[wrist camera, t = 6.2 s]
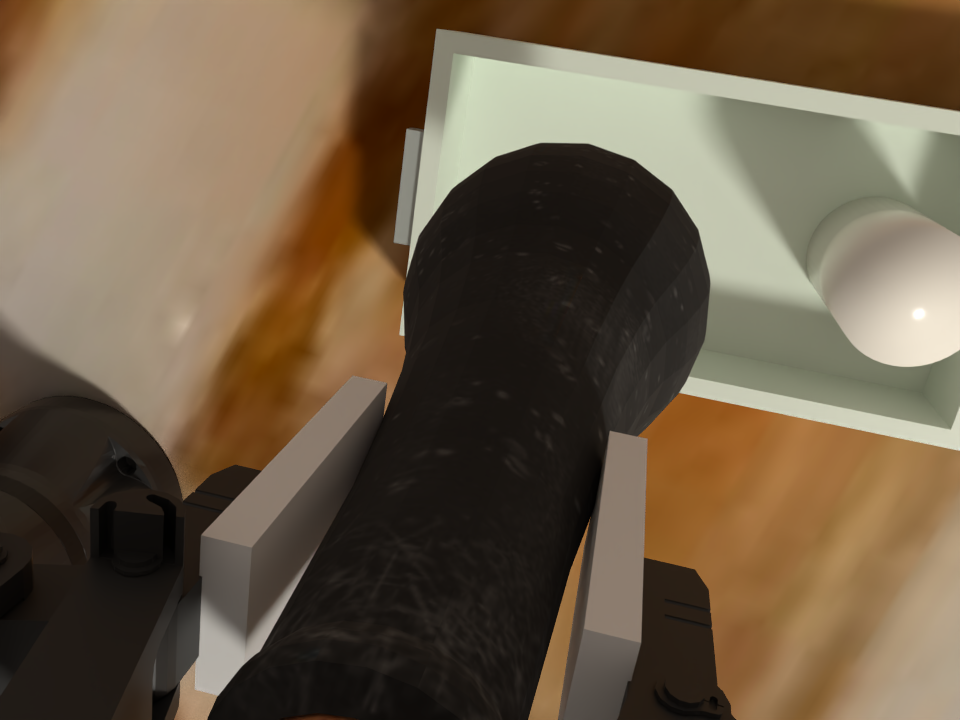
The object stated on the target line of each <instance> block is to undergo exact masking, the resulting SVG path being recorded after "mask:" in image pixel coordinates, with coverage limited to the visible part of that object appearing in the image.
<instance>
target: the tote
mask: <svg viewBox="0 0 960 720" xmlns="http://www.w3.org/2000/svg"><path fill="white" fill-rule="evenodd" d="M538 143H588V144H591V145H594V146H597V147H600V148H603V149H605V150H608V151H611V152H614V153H617V154H619V155H622V156H625V157H628V158H631V159H634V160H635V161H637V162H638V163H639V164H640V165H642V166H643V167H644V168H645V169H647V170H648V171H649V172H651V173H652V174H653V175H654V176H656V177H657V178H658V179H659V180H661V181H662V182H663V183H665V184H666V185H667V186H668V187H670V188H671V189H672V190H673V191H674V193H675V194H676V196H677V198H678V199H679V201H680V202H681V204H682V205H683V207H684V208H685V210H686V211H687V213H688V214H689V216H690V218H691V219H692V221H693V222H694V224H695V225H696V227H697V228H698V230H699V234H700V238H701V242H702V246H703V250H704V254H705V258H706V262H707V266H708V270H709V274H710V283H711V284H710V295H709V307H708V318H707V329H706V335H705V341H704V343H703V345H702V348H701V350H700V352H699V354H698V356H697V359H696V361H695V363H694V365H693V368H692V370H691V372H690V374H689V376H688V379H687V381H686V383H685V384H684V386H683V387H682V389H681V390H680V392H679V393H683V394H688V395H693V396H698V397H703V398H707V399H712V400H717V401H722V402H727V403H732V404H737V405H741V406H746V407H751V408H756V409H761V410H766V411H770V412H775V413H780V414H785V415H790V416H795V417H799V418H804V419H809V420H814V421H819V422H824V423H829V424H833V425H838V426H843V427H848V428H853V429H858V430H862V431H867V432H872V433H877V434H882V435H887V436H891V437H896V438H901V439H906V440H911V441H916V442H921V443H925V444H930V445H935V446H940V447H945V448H950V449H954V450H959V451H960V350H959V351H957V352H956V353H954V354H952V355H951V356H949V357H947V358H944V359H942V360H940V361H937V362H934V363H931V364H927V365H922V366H914V367H900V366H892V365H888V364H884V363H881V362H878V361H876V360H873V359H871V358H870V357H868V356H866V355H864V354H863V353H862V352H860V351H859V350H858V349H857V348H856V347H855V346H854V345H853V344H852V343H851V342H850V341H849V339H848V338H847V337H846V335H845V334H844V332H843V331H842V329H841V328H840V326H839V325H838V323H837V322H836V320H835V319H834V317H833V316H832V314H831V313H830V311H829V310H828V308H827V307H826V305H825V304H824V302H823V301H822V299H821V298H820V296H819V295H818V293H817V292H816V290H815V289H814V287H813V285H812V283H811V281H810V279H809V276H808V272H807V268H806V253H807V248H808V244H809V241H810V238H811V236H812V234H813V232H814V230H815V229H816V228H817V226H818V225H819V223H820V222H821V221H822V220H823V219H824V218H825V217H826V216H827V215H828V214H829V213H830V212H832V211H833V210H834V209H836V208H837V207H839V206H841V205H843V204H845V203H847V202H849V201H852V200H855V199H859V198H864V197H878V196H879V197H887V198H891V199H895V200H898V201H900V202H903V203H905V204H906V205H908V206H910V207H912V208H913V209H915V210H917V211H918V212H920V213H922V214H923V215H925V216H927V217H928V218H930V219H932V220H933V221H935V222H936V223H938V224H940V225H941V226H943V227H945V228H946V229H948V230H950V231H951V232H953V233H955V234H956V235H958V236H960V111H958V110H952V109H946V108H939V107H933V106H927V105H921V104H914V103H908V102H902V101H895V100H889V99H883V98H876V97H870V96H864V95H858V94H851V93H845V92H839V91H832V90H826V89H820V88H813V87H807V86H801V85H795V84H788V83H782V82H776V81H769V80H763V79H757V78H750V77H744V76H738V75H732V74H725V73H719V72H713V71H706V70H700V69H694V68H688V67H681V66H675V65H669V64H662V63H656V62H650V61H643V60H637V59H631V58H625V57H618V56H612V55H606V54H599V53H593V52H587V51H580V50H574V49H568V48H562V47H555V46H549V45H543V44H536V43H530V42H524V41H517V40H511V39H505V38H499V37H492V36H486V35H480V34H473V33H467V32H460V31H452V30H443V29H436V37H435V45H434V54H433V62H432V70H431V78H430V87H429V95H428V103H427V111H426V120H425V128H424V130H423V129H418V128H408V129H407V130H406V139H405V147H404V156H403V165H402V174H401V183H400V191H399V200H398V209H397V218H396V226H395V235H394V243H398V244H404V245H409V246H410V252H409V260H408V268H407V273H408V270H409V267H410V263H411V260H412V257H413V253H414V250H415V247H416V243H417V240H418V237H419V235H420V233H421V232H422V230H423V229H424V227H425V226H426V225H427V223H428V222H429V220H430V219H431V218H432V216H433V215H434V213H435V212H436V211H437V209H438V208H439V206H440V205H441V203H442V202H443V201H444V199H445V198H446V196H447V195H448V194H449V192H450V191H451V189H452V188H454V187H455V186H456V185H457V184H459V183H460V182H461V181H463V180H464V179H466V178H467V177H468V176H470V175H471V174H472V173H474V172H475V171H477V170H478V169H479V168H481V167H482V166H483V165H485V164H486V163H488V162H489V161H490V160H492V159H493V158H494V157H496V156H499V155H503V154H506V153H509V152H512V151H515V150H519V149H522V148H525V147H528V146H531V145H534V144H538ZM406 277H407V276H406ZM399 335H402V336H404V301H403V310H402V318H401V326H400V334H399Z"/></svg>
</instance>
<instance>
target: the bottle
mask: <svg viewBox="0 0 960 720" xmlns="http://www.w3.org/2000/svg"><path fill="white" fill-rule="evenodd" d="M710 284H711V283H710V274H709V270H708V266H707V262H706V258H705V254H704V250H703V246H702V242H701V238H700V234H699V230H698V228H697V227H696V225H695V224H694V222H693V221H692V219H691V218H690V216H689V214H688V213H687V211H686V210H685V208H684V207H683V205H682V204H681V202H680V201H679V199H678V198H677V196H676V194H675V193H674V191H673V190H672V189H671V188H670V187H668V186H667V185H666V184H665V183H663V182H662V181H661V180H659V179H658V178H657V177H656V176H654V175H653V174H652V173H651V172H649V171H648V170H647V169H645V168H644V167H643V166H642V165H640V164H639V163H638V162H637V161H635V160H634V159H631V158H628V157H625V156H622V155H619V154H617V153H614V152H611V151H608V150H605V149H603V148H600V147H597V146H594V145H591V144H588V143H538V144H534V145H531V146H528V147H525V148H522V149H519V150H515V151H512V152H509V153H506V154H503V155H499V156H496V157H494V158H493V159H492V160H490V161H489V162H488V163H486V164H485V165H483V166H482V167H481V168H479V169H478V170H477V171H475V172H474V173H472V174H471V175H470V176H468V177H467V178H466V179H464V180H463V181H461V182H460V183H459V184H457V185H456V186H455V187H454V188H452V189H451V191H450V192H449V194H448V195H447V196H446V198H445V199H444V201H443V202H442V203H441V205H440V206H439V208H438V209H437V211H436V212H435V213H434V215H433V216H432V218H431V219H430V220H429V222H428V223H427V225H426V226H425V227H424V229H423V230H422V232H421V233H420V235H419V237H418V240H417V243H416V247H415V250H414V253H413V257H412V260H411V263H410V267H409V270H408V273H407V277H406V281H405V286H404V291H403V298H404V336H405V350H406V355H405V360H404V364H403V369H402V372H401V374H400V377H399V379H398V382H397V384H396V387H395V390H394V392H393V395H392V397H391V400H390V402H389V405H388V407H387V410H386V412H385V415H384V417H383V420H382V422H381V424H380V426H379V428H378V431H377V433H376V435H375V437H374V440H373V442H372V444H371V446H370V449H369V451H368V453H367V455H366V457H365V460H364V462H363V464H362V466H361V469H360V471H359V473H358V475H357V478H356V480H355V482H354V484H353V486H352V488H351V490H350V492H349V493H348V495H347V497H346V499H345V501H344V502H343V504H342V506H341V508H340V509H339V511H338V513H337V515H336V517H335V518H334V520H333V522H332V524H331V526H330V527H329V529H328V531H327V533H326V534H325V536H324V538H323V540H322V542H321V543H320V545H319V547H318V549H317V550H316V552H315V554H314V556H313V558H312V559H311V561H310V563H309V565H308V567H307V568H306V570H305V572H304V574H303V575H302V577H301V579H300V581H299V583H298V584H297V586H296V588H295V590H294V592H293V593H292V595H291V597H290V599H289V600H288V602H287V604H286V606H285V608H284V609H283V611H282V613H281V615H280V617H279V618H278V620H277V622H276V624H275V625H274V627H273V629H272V631H271V633H270V634H269V636H268V638H267V640H266V641H265V643H264V645H263V647H262V649H261V650H260V652H258V653H257V654H255V655H254V656H253V657H252V658H250V659H249V660H248V661H247V662H246V663H245V664H244V665H243V666H242V667H241V668H240V669H239V670H238V672H237V673H236V674H235V675H234V677H233V678H232V679H231V680H230V682H229V683H228V684H227V685H226V687H225V688H224V689H223V690H222V692H221V693H220V694H219V695H218V697H217V699H216V701H215V703H214V705H213V708H212V710H211V712H210V714H209V716H208V719H207V720H528V718H529V714H530V710H531V707H532V703H533V700H534V696H535V693H536V689H537V686H538V682H539V679H540V675H541V671H542V668H543V664H544V661H545V657H546V654H547V650H548V647H549V643H550V640H551V636H552V633H553V629H554V625H555V622H556V618H557V615H558V611H559V608H560V604H561V601H562V597H563V594H564V590H565V587H566V583H567V579H568V576H569V572H570V569H571V567H572V564H573V561H574V559H575V556H576V554H577V551H578V548H579V546H580V543H581V541H582V538H583V535H584V533H585V530H586V527H587V525H588V522H589V520H590V517H591V514H592V512H593V509H594V506H595V500H596V495H597V490H598V485H599V479H600V474H601V469H602V464H603V460H604V455H605V451H606V446H607V442H608V437H609V433H610V431H613V432H618V433H622V434H627V435H631V436H636V437H637V436H638V435H639V434H640V433H642V432H643V431H644V430H645V429H646V428H647V427H648V426H649V425H650V424H651V423H652V422H653V420H654V419H655V418H656V417H657V416H658V415H659V414H660V413H661V412H662V411H663V410H664V409H665V408H666V406H667V405H668V404H669V403H670V402H671V401H672V400H673V399H674V398H675V397H676V396H677V395H678V393H679V392H680V390H681V389H682V387H683V386H684V384H685V383H686V381H687V379H688V376H689V374H690V372H691V370H692V368H693V365H694V363H695V361H696V359H697V356H698V354H699V352H700V350H701V348H702V345H703V343H704V341H705V335H706V329H707V318H708V307H709V295H710Z"/></svg>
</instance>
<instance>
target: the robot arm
mask: <svg viewBox="0 0 960 720" xmlns="http://www.w3.org/2000/svg"><path fill="white" fill-rule="evenodd" d="M386 389H387V383H385V382H380V381H375V380H371V379H366V378H362V377H357V376H352V377H351V378H350V379H349V380H348V381H347V382H346V383H345V384H344V385H343V386H342V387H341V388H340V389H339V390H338V392H337V393H336V394H335V395H334V396H333V397H332V398H331V399H330V400H329V401H328V402H327V403H326V404H325V405H324V406H323V407H322V408H321V409H320V410H319V411H318V413H317V414H316V415H315V416H314V417H313V418H312V419H311V420H310V421H309V422H308V423H307V424H306V425H305V426H304V427H303V428H302V429H301V430H300V431H299V433H298V434H297V435H296V436H295V437H294V438H293V439H292V440H291V441H290V442H289V443H288V444H287V445H286V446H285V447H284V448H283V449H282V450H281V451H280V453H279V454H278V455H277V456H276V457H275V458H274V459H273V460H272V461H271V462H270V463H269V464H268V465H267V466H266V467H265V468H264V469H263V470H262V471H260V470H256V469H251V468H247V467H243V466H238V465H233V466H231V467H229V468H226V469H224V470H221V471H219V472H217V473H214V474H212V475H210V476H209V477H208V478H207V479H206V480H205V481H204V482H203V483H202V484H201V485H200V486H199V487H198V488H197V489H196V491H195V493H194V492H192V493H191V494H190V495H189V496H188V497H187V498H186V499H185V500H184V501H183V499H182V494H181V490H180V486H179V483H178V480H177V478H176V475H175V473H174V471H173V468H172V466H171V465H170V463H169V461H168V459H167V458H166V456H165V455H164V453H163V452H162V450H161V449H160V447H159V446H158V445H157V444H156V443H155V441H154V440H153V439H152V438H151V437H150V436H149V435H148V434H147V433H146V432H145V431H144V430H143V429H142V428H141V427H140V426H138V425H137V424H136V423H135V422H133V421H132V420H131V419H129V418H128V417H126V416H125V415H123V414H122V413H120V412H118V411H117V410H115V409H113V408H111V407H109V406H106V405H104V404H102V403H99V402H96V401H93V400H89V399H85V398H80V397H72V396H56V397H49V398H44V399H40V400H37V401H35V402H32V403H30V404H28V405H26V406H24V407H23V408H21V409H19V410H17V411H15V412H14V413H12V414H10V415H8V416H7V417H5V418H4V419H2V420H1V421H0V720H174V718H175V715H176V712H177V710H178V707H179V697H180V680H181V679H182V678H183V676H184V675H185V674H186V672H187V671H188V670H189V668H190V667H191V666H192V665H193V663H194V662H195V661H196V671H195V690H199V691H202V692H206V693H210V694H214V695H217V696H218V695H219V694H220V693H221V692H222V690H223V689H224V688H225V687H226V685H227V684H228V683H229V682H230V680H231V679H232V678H233V677H234V675H235V674H236V673H237V672H238V670H239V669H240V668H241V667H242V666H243V665H244V664H245V663H246V662H247V661H248V660H249V659H250V658H252V657H253V656H254V655H255V654H257V653H258V652H260V650H261V649H262V647H263V645H264V643H265V641H266V640H267V638H268V636H269V634H270V633H271V631H272V629H273V627H274V625H275V624H276V622H277V620H278V618H279V617H280V615H281V613H282V611H283V609H284V608H285V606H286V604H287V602H288V600H289V599H290V597H291V595H292V593H293V592H294V590H295V588H296V586H297V584H298V583H299V581H300V579H301V577H302V575H303V574H304V572H305V570H306V568H307V567H308V565H309V563H310V561H311V559H312V558H313V556H314V554H315V552H316V550H317V549H318V547H319V545H320V543H321V542H322V540H323V538H324V536H325V534H326V533H327V531H328V529H329V527H330V526H331V524H332V522H333V520H334V518H335V517H336V515H337V513H338V511H339V509H340V508H341V506H342V504H343V502H344V501H345V499H346V497H347V495H348V493H349V492H350V490H351V488H352V486H353V484H354V482H355V480H356V478H357V475H358V473H359V471H360V469H361V466H362V464H363V462H364V460H365V457H366V455H367V453H368V451H369V449H370V446H371V444H372V442H373V440H374V437H375V435H376V433H377V431H378V428H379V426H380V424H381V422H382V420H383V415H384V406H385V398H386ZM646 467H647V439H645V438H641V437H636V436H631V435H627V434H622V433H618V432H613V431H610V433H609V437H608V442H607V446H606V451H605V455H604V460H603V464H602V469H601V474H600V479H599V485H598V490H597V495H596V500H595V506H594V509H593V512H592V514H591V518H590V523H589V527H588V532H587V536H586V541H585V545H584V552H583V559H582V565H581V572H580V578H579V585H578V591H577V598H576V605H575V611H574V618H573V624H572V631H571V637H570V644H569V651H568V657H567V664H566V670H565V677H564V684H563V690H562V697H561V703H560V710H559V716H558V720H736V719H735V718H734V717H733V716H732V715H731V705H730V703H729V701H728V699H727V698H726V696H725V694H724V692H723V691H722V690H721V689H720V688H719V687H718V686H717V676H716V665H715V654H714V643H713V632H712V629H711V627H712V622H711V613H710V600H709V590H708V588H707V587H706V585H705V584H704V582H703V581H702V579H701V578H700V576H699V575H698V574H697V572H696V571H695V569H690V568H686V567H682V566H678V565H673V564H669V563H665V562H660V561H656V560H652V559H647V558H644V533H645V500H646Z"/></svg>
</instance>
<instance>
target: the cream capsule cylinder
mask: <svg viewBox="0 0 960 720" xmlns="http://www.w3.org/2000/svg"><path fill="white" fill-rule="evenodd" d="M806 268H807V272H808V276H809V279H810V281H811V283H812V285H813V287H814V289H815V290H816V292H817V293H818V295H819V296H820V298H821V299H822V301H823V302H824V304H825V305H826V307H827V308H828V310H829V311H830V313H831V314H832V316H833V317H834V319H835V320H836V322H837V323H838V325H839V326H840V328H841V329H842V331H843V332H844V334H845V335H846V337H847V338H848V339H849V341H850V342H851V343H852V344H853V345H854V346H855V347H856V348H857V349H858V350H859V351H860V352H862V353H863V354H864V355H866V356H868V357H870V358H871V359H873V360H876V361H878V362H881V363H884V364H888V365H892V366H900V367H914V366H922V365H927V364H931V363H934V362H937V361H940V360H942V359H944V358H947V357H949V356H951V355H952V354H954V353H956V352H957V351H959V350H960V236H958V235H956V234H955V233H953V232H951V231H950V230H948V229H946V228H945V227H943V226H941V225H940V224H938V223H936V222H935V221H933V220H932V219H930V218H928V217H927V216H925V215H923V214H922V213H920V212H918V211H917V210H915V209H913V208H912V207H910V206H908V205H906V204H905V203H903V202H900V201H898V200H895V199H891V198H887V197H879V196H878V197H864V198H859V199H855V200H852V201H849V202H847V203H845V204H843V205H841V206H839V207H837V208H836V209H834V210H833V211H832V212H830V213H829V214H828V215H827V216H826V217H825V218H824V219H823V220H822V221H821V222H820V223H819V225H818V226H817V228H816V229H815V230H814V232H813V234H812V236H811V238H810V241H809V244H808V248H807V253H806Z"/></svg>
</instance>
